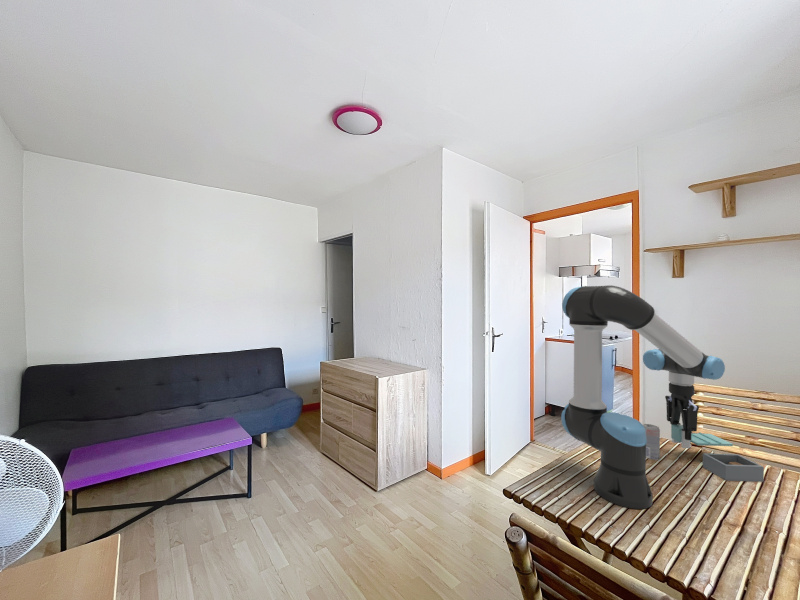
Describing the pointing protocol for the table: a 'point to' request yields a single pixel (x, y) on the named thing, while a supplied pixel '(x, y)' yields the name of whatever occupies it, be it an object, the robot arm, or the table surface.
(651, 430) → the energy drink
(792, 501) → the table surface
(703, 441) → the lid
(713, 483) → the table surface
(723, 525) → the table surface
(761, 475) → the tub
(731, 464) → the walnut block
